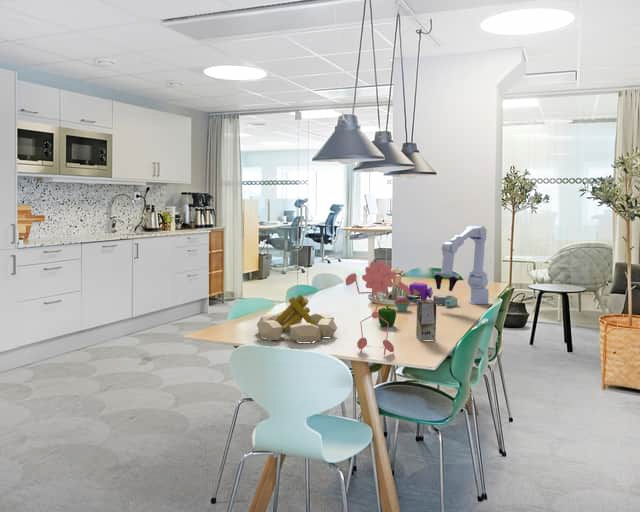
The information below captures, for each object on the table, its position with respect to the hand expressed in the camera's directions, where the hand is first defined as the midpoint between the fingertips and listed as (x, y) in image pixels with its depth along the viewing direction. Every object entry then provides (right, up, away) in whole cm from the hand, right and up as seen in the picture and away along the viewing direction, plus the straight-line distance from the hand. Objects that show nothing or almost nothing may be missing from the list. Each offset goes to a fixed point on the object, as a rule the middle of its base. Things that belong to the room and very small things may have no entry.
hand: (444, 290), depth 317 cm
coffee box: (-22, -17, -66) cm, 72 cm away
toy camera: (-8, -8, +30) cm, 32 cm away
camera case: (+4, -9, +19) cm, 21 cm away
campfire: (-76, -16, -60) cm, 98 cm away
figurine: (-44, -19, -87) cm, 100 cm away
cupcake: (-23, -11, -2) cm, 25 cm away
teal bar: (+6, -9, +11) cm, 15 cm away
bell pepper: (-35, -14, -41) cm, 56 cm away
